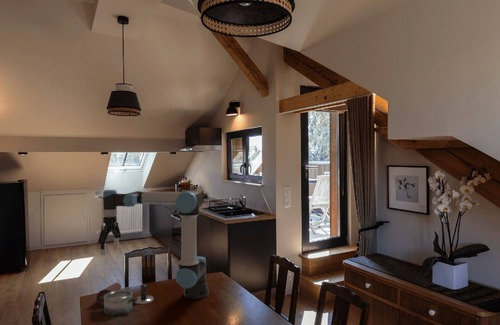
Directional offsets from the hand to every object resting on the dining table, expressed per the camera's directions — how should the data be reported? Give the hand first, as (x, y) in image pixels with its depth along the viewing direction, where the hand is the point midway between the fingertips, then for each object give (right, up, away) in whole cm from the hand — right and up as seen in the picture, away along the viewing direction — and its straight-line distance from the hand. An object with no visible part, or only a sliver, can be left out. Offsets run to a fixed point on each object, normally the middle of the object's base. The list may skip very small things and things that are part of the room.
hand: (110, 251), depth 205 cm
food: (+1, -28, 0) cm, 28 cm away
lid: (+21, -28, -3) cm, 35 cm away
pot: (+11, -28, -15) cm, 34 cm away
